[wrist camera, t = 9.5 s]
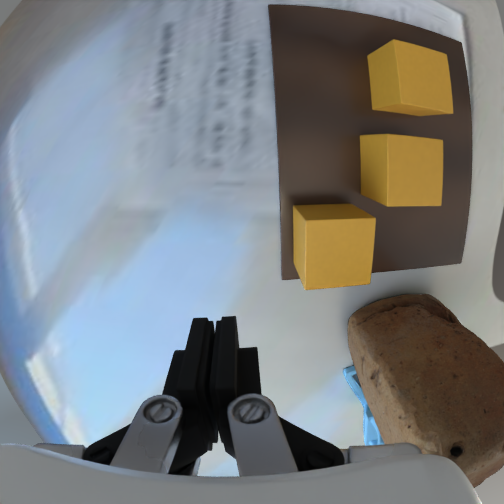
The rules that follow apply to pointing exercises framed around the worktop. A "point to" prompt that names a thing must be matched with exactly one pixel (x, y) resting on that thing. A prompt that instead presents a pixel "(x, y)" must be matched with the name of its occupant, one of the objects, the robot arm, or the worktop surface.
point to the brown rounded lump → (430, 382)
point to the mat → (362, 132)
